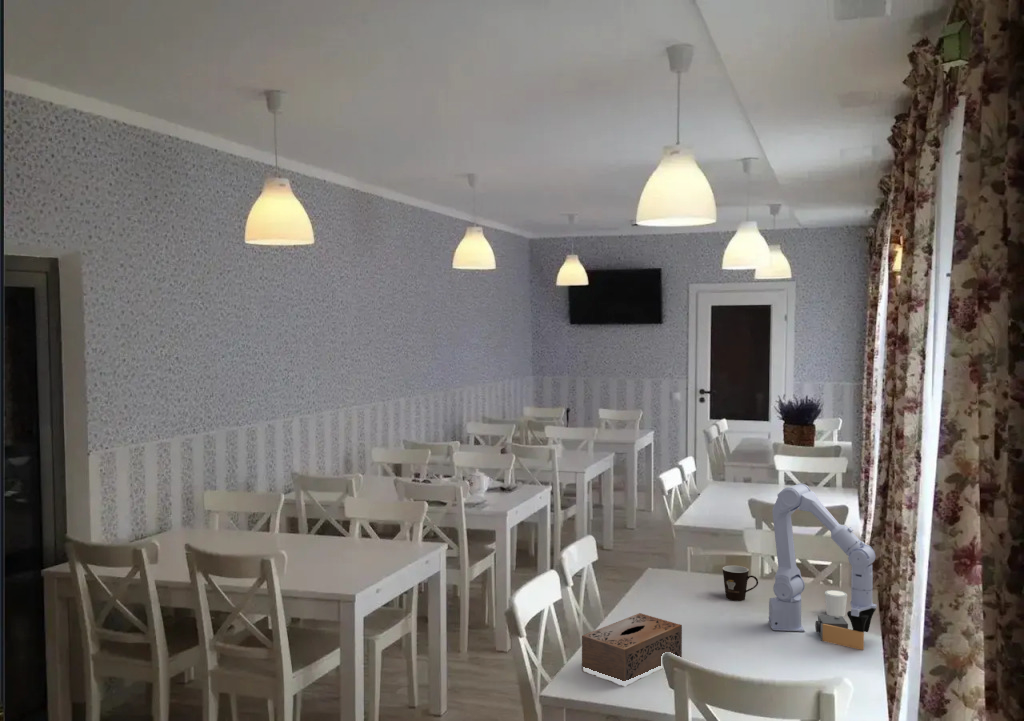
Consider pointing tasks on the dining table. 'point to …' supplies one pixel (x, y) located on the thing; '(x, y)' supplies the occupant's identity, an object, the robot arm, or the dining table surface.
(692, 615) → the dining table surface
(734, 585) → the coffee mug
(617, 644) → the tissue box cover
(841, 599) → the white cup
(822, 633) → the side door
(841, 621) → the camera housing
